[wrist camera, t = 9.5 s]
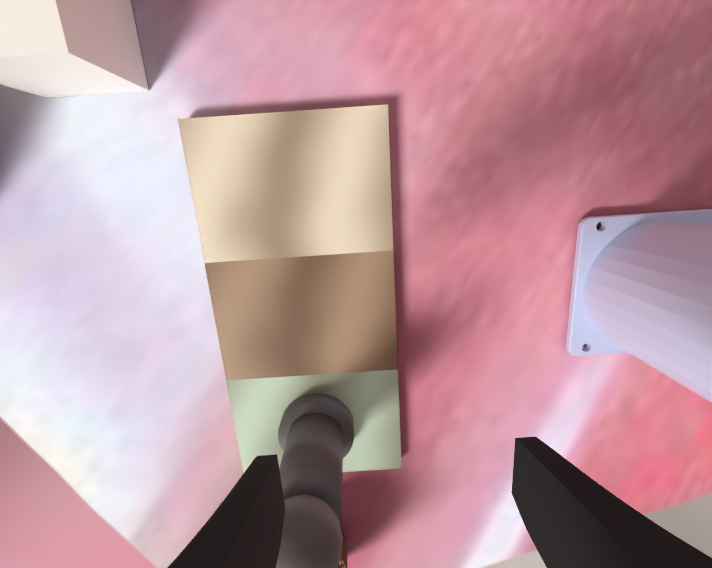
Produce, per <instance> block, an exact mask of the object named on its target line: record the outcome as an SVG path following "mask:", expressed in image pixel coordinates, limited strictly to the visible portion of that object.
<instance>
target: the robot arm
mask: <svg viewBox="0 0 712 568" xmlns="http://www.w3.org/2000/svg"><path fill="white" fill-rule="evenodd" d="M599 222H601V227H600V229H599V230H597V229H596V226H597V224H598V223H599ZM584 344H587V345H586V347H585V348H583V349H582V347H583V345H584ZM566 350H567V351H568V352H569V353H570V354H572V355H574V356H580V355H596V354H611V353H627V352H628V353H630V354H631V355H633V356H635V357H636V358H638V359H640V360H641V361H643V362H645V363H646V364H648V365H650V366H651V367H653V368H655V369H656V370H658V371H660V372H661V373H663V374H665V375H666V376H668V377H670V378H671V379H673V380H675V381H676V382H678V383H680V384H681V385H683V386H685V387H686V388H688V389H690V390H691V391H693V392H695V393H696V394H698V395H700V396H701V397H703V398H705V399H706V400H708V401H710V402H711V403H712V209H699V210H684V211H669V212H654V213H639V214H624V215H610V216H595V217H586V218H584V219H583V220H581V222H580V223H579V226H578V233H577V243H576V252H575V262H574V272H573V281H572V291H571V300H570V310H569V320H568V329H567V339H566ZM512 495H513V497H514V500H515V502H516V505H517V507H518V510H519V512H520V515H521V517H522V519H523V522H524V524H525V526H526V529H527V531H528V533H529V535H530V537H531V539H532V541H533V542H534V544H535V546H536V548H537V550H538V552H539V554H540V556H541V557H542V559H543V561H544V563H545V565H546V567H547V568H712V558H711V557H709V556H707V555H706V554H704V553H702V552H701V551H699V550H697V549H696V548H694V547H692V546H691V545H689V544H687V543H686V542H684V541H682V540H681V539H679V538H677V537H676V536H674V535H673V534H671V533H670V532H668V531H666V530H665V529H663V528H662V527H660V526H659V525H657V524H656V523H654V522H653V521H651V520H650V519H648V518H647V517H645V516H644V515H642V514H641V513H639V512H638V511H636V510H635V509H633V508H632V507H630V506H629V505H627V504H626V503H625V502H623V501H622V500H620V499H619V498H617V497H616V496H615V495H613V494H612V493H610V492H609V491H608V490H606V489H605V488H603V487H602V486H601V485H599V484H598V483H597V482H595V481H594V480H593V479H591V478H590V477H589V476H587V475H586V474H585V473H583V472H582V471H581V470H579V469H578V468H577V467H575V466H574V465H573V464H571V463H570V462H569V461H567V460H566V459H565V458H563V457H562V456H561V455H559V454H558V453H557V452H556V451H554V450H553V449H552V448H550V447H549V446H548V445H546V444H545V443H544V442H542V441H541V440H540V439H538V438H537V437H525V438H515V453H514V468H513V483H512ZM284 515H285V503H284V496H283V489H282V483H281V476H280V470H279V463H278V456H277V454H276V455H261V456H256V458H255V459H254V460H253V461H252V463H251V464H250V465H249V467H248V468H247V470H246V471H245V472H244V474H243V475H242V477H241V478H240V479H239V481H238V482H237V483H236V485H235V486H234V487H233V489H232V490H231V491H230V493H229V494H228V496H227V497H226V498H225V499H224V501H223V502H222V503H221V505H220V506H219V507H218V508H217V510H216V511H215V512H214V514H213V515H212V516H211V517H210V519H209V520H208V521H207V522H206V524H205V525H204V526H203V527H202V528H201V530H200V531H199V532H198V533H197V534H196V536H195V537H194V538H193V539H192V540H191V542H190V543H189V544H188V545H187V546H186V547H185V549H184V550H183V551H182V552H181V553H180V554H179V556H178V557H177V558H176V559H175V560H174V561H173V562H172V563H171V564H170V566H169V567H168V568H276V564H277V559H278V555H279V551H280V545H281V538H282V531H283V523H284Z"/></svg>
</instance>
